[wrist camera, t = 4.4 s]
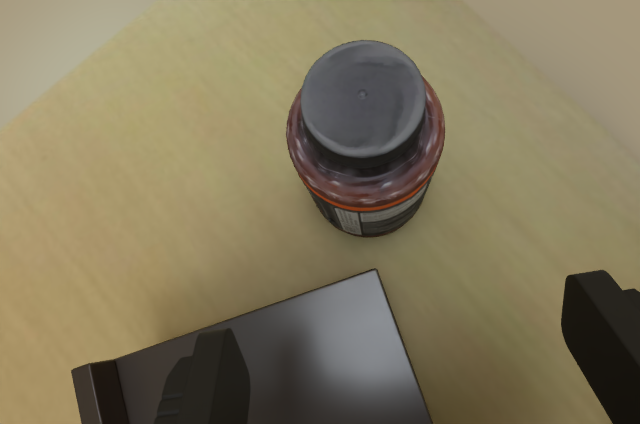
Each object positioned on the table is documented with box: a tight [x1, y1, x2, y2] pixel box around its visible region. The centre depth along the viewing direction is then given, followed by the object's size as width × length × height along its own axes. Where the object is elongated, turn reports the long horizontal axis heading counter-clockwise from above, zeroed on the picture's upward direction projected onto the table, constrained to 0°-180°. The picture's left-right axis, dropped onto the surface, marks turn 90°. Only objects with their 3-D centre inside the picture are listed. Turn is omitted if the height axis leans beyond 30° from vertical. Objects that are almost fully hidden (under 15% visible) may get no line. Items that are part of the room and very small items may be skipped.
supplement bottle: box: [286, 40, 445, 237], centre depth 21 cm, size 6×6×11 cm
